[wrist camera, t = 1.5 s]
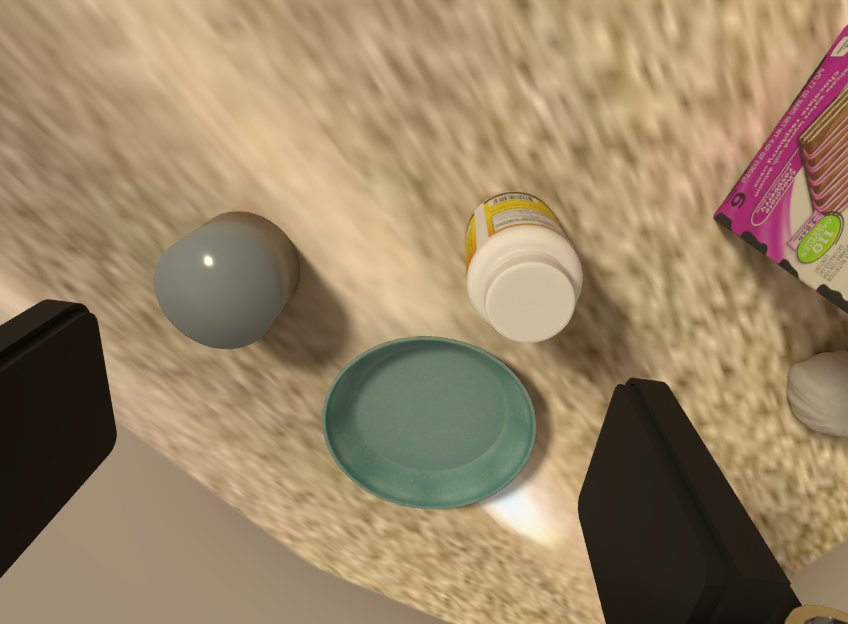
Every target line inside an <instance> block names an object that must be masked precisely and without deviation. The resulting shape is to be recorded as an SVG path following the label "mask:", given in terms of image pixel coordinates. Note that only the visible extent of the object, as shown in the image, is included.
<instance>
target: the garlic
mask: <svg viewBox="0 0 848 624" xmlns="http://www.w3.org/2000/svg"><path fill="white" fill-rule="evenodd" d="M786 392H787V396H788V398H789V400H790V403H791V409H792V412H793V413H794V415H795V416H796V417H797V418H798V419H799V420H800V421H801V422H802V423H803V424H804V425H806V426H807V427H808V428H810V429H812V430H814V431H816V432H819V433H823V434H829V435H833V436H840V437H845V438H848V352H847V351H842V350H839V351H835V352H833V353H832V352H824V353H820V354H817V355H814V356H813V357H811V358H810V359H808V360H806V361H803V362H798V363H796V364H794V365H792V366H791V368H790V370H789V372H788V384H787V389H786Z"/></svg>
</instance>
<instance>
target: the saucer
mask: <svg viewBox="0 0 848 624" xmlns="http://www.w3.org/2000/svg"><path fill="white" fill-rule="evenodd" d="M322 426H323V434H324V438H325V441H326V444H327V446H328V449H329V452H330V453H331V456H332V457H333V459H334V460H335V462H336V463H337V465H338V466H339V468H340V469H341V470H342V471H343V472H344V473H345V474H346V475H347V476H348V477H349V478H350V479H351V480H352V481H353V482H355V483H356V484H357V485H358V486H360V487H362V488H363V489H364V490H366V491H367V492H369V493H371V494H373V495H375V496H377V497H379V498H381V499H383V500H386V501H388V502H392V503H395V504H399V505H402V506H408V507H412V508H421V509H448V508H455V507H461V506H466V505H469V504H472V503H476V502H478V501H481V500H483V499H485V498H488V497H490V496H491V495H493V494H495V493H496V492H498V491H500V490H501V489H503V488H504V487H505V486H506V485H508V484H509V483H510V482H511V481H512V480H513V479H514V478H515V477H516V476H517V475H518V474H519V473H520V471H521V470H522V469H523V467H524V466H525V464H526V463H527V461H528V459H529V457H530V455H531V453H532V450H533V447H534V443H535V438H536V428H537V423H536V415H535V410H534V406H533V403H532V400H531V398H530V396H529V393H528V392H527V390H526V388H525V387H524V385H523V384H522V382H521V381H520V379H519V378H518V377H517V376H516V374H515V373H514V372H513V371H512V370H511V369H510V368H508V367H507V366H506V365H505V364H504V363H503V362H502V361H500V360H499V359H497V358H496V357H494V356H493V355H491V354H489V353H488V352H486V351H484V350H482V349H480V348H478V347H475V346H473V345H470V344H467V343H464V342H461V341H457V340H454V339H448V338H442V337H432V336H418V337H408V338H401V339H396V340H392V341H389V342H385V343H382V344H380V345H377V346H375V347H373V348H371V349H369V350H367V351H365V352H364V353H362V354H360V355H359V356H358V357H356V358H355V359H353V360H352V361H351V362H350V363H349V364H348V365H347V366H346V367H345V368H344V369H343V370H342V371H341V372H340V373H339V374H338V376H337V377H336V379H335V380H334V382H333V383H332V385H331V387H330V389H329V391H328V393H327V396H326V399H325V402H324V406H323V413H322Z"/></svg>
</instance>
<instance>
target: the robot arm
mask: <svg viewBox="0 0 848 624" xmlns="http://www.w3.org/2000/svg"><path fill="white" fill-rule="evenodd" d="M116 436H117V431H116V426H115V419H114V413H113V408H112V402H111V396H110V390H109V384H108V378H107V373H106V367H105V361H104V355H103V349H102V343H101V338H100V332H99V326H98V321H97V318H96V317H95V315H94V314H92V313H89V310H88V309H87V307H86V306H85V305H83V304H81V303H73V302H66V301H58V300H50V299H46V300H44V301H41V302H39V303H38V304H36V305H34V306H33V307H31V308H29V309H28V310H26V311H24V312H22V313H21V314H19V315H17V316H16V317H14V318H12V319H11V320H9V321H7V322H6V323H4V324H2V325H0V578H1V577H2V576H3V575H4V573H5V572H6V571H7V570H8V569H9V568H10V567H11V565H12V564H13V563H14V562H15V561H16V560H17V559H18V558H19V556H20V555H21V554H22V553H23V552H24V551H25V550H26V548H27V547H28V546H29V545H30V544H31V543H32V542H33V541H34V539H35V538H36V537H37V536H38V535H39V534H40V533H41V531H42V530H43V529H44V528H45V527H46V526H47V525H48V523H49V522H50V521H51V520H52V519H53V518H54V517H55V515H56V514H57V513H58V512H59V511H60V510H61V509H62V508H63V506H64V505H65V504H66V503H67V502H68V501H69V500H70V498H71V497H72V496H73V495H74V494H75V493H76V492H77V490H78V489H79V488H80V487H81V486H82V485H83V484H84V482H85V481H86V480H87V479H88V478H89V477H90V476H91V474H92V473H93V472H94V471H95V470H96V469H97V468H98V466H99V465H100V464H101V463H102V462H103V461H104V460H105V459H106V457H107V456H108V455H109V454H110V453H111V451H112V449H113V447H114V445H115V442H116ZM578 514H579V519H580V523H581V527H582V531H583V535H584V539H585V543H586V547H587V551H588V555H589V559H590V563H591V567H592V571H593V575H594V579H595V583H596V587H597V591H598V594H599V598H600V602H601V606H602V610H603V614H604V618H605V622H606V624H848V614H847V613H845V612H843V611H839V610H836V609H833V608H830V607H826V606H822V605H804V606H802V605H801V603H800V602H799V600H798V598H797V597H796V595H795V593H794V592H793V590H792V588H791V587H790V584H791V583H790V581H789V580H788V578H787V576H786V575H785V573H784V572H783V570H782V568H781V567H780V565H779V563H778V562H777V560H776V559H775V557H774V555H773V554H772V552H771V551H770V549H769V547H768V546H767V544H766V543H765V541H764V539H763V538H762V536H761V535H760V533H759V531H758V530H757V528H756V526H755V525H754V523H753V522H752V520H751V518H750V517H749V515H748V514H747V512H746V510H745V509H744V507H743V506H742V504H741V502H740V501H739V499H738V497H737V496H736V494H735V493H734V491H733V489H732V488H731V486H730V485H729V483H728V481H727V480H726V478H725V477H724V475H723V473H722V472H721V470H720V469H719V467H718V465H717V464H716V462H715V460H714V459H713V457H712V456H711V454H710V452H709V451H708V449H707V448H706V446H705V444H704V443H703V441H702V440H701V438H700V436H699V435H698V433H697V431H696V430H695V428H694V427H693V425H692V423H691V422H690V420H689V419H688V417H687V415H686V414H685V412H684V411H683V409H682V407H681V406H680V404H679V403H678V401H677V399H676V398H675V396H674V394H673V393H672V391H671V390H670V388H669V386H668V385H667V384H666V383H665V382H661V381H654V380H646V379H639V378H630V379H629V380H628V381H627V382H626V384H625V385H623V384H619V385H617V386H616V388H615V390H614V392H613V395H612V398H611V401H610V404H609V407H608V410H607V413H606V417H605V420H604V423H603V426H602V429H601V432H600V435H599V438H598V441H597V444H596V447H595V450H594V453H593V456H592V459H591V462H590V465H589V468H588V471H587V474H586V477H585V480H584V483H583V486H582V489H581V492H580V495H579V500H578Z"/></svg>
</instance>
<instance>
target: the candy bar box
mask: <svg viewBox="0 0 848 624" xmlns="http://www.w3.org/2000/svg"><path fill="white" fill-rule="evenodd" d="M713 218H714V219H716V220H717V221H718V222H719V223H721V224H722V225H723V226H725V227H726V228H728V229H729V230H731V231H732V232H733V233H734V234H736V235H737V236H738V237H740V238H741V239H743V240H744V241H746V242H747V243H748V244H750V245H751V246H753V247H754V248H756V249H757V250H759V251H760V252H761V253H763V254H764V255H766V256H767V257H768V258H769V259H771V260H772V261H774V262H775V263H776V264H778V265H779V266H781V267H782V268H784V269H785V270H786V271H788V272H789V273H791V274H792V275H794V276H795V277H797V278H798V279H800V280H801V281H802V282H804V283H805V284H806V285H808V286H809V287H811V288H812V289H814V290H815V291H817V292H818V293H819V294H821V295H822V296H824V297H825V298H826V299H828V300H829V301H831V302H832V303H833V304H835V305H836V306H838V307H839V308H840V309H842V310H843V311H845V312H846V313H848V25H847V26H846V27H845V28H844V29H843V31H842V32H841V34H840V35H839V36H838V38H837V39H836V41H835V42H834V44H833V45H832V47H831V48H830V50H829V51H828V53H827V54H826V55H825V57H824V58H823V60H822V61H821V63H820V64H819V66H818V67H817V68H816V70H815V71H814V73H813V74H812V75H811V77H810V78H809V80H808V81H807V83H806V84H805V86H804V87H803V89H802V90H801V92H800V93H799V95H798V96H797V97H796V99H795V100H794V102H793V103H792V105H791V106H790V108H789V109H788V111H787V112H786V113H785V115H784V116H783V118H782V119H781V120H780V122H779V123H778V125H777V126H776V127H775V129H774V130H773V132H772V133H771V135H770V136H769V138H768V139H767V140H766V142H765V143H764V145H763V146H762V148H761V149H760V150H759V152H758V153H757V155H756V156H755V158H754V159H753V161H752V162H751V163H750V165H749V166H748V168H747V169H746V170H745V172H744V173H743V175H742V176H741V178H740V179H739V181H738V182H737V183H736V185H735V186H734V188H733V189H732V190H731V192H730V193H729V195H728V196H727V198H726V199H725V200H724V202H723V203H722V205H721V206H720V207H719V209H718V210H717V212H716V213H715V214H714V216H713Z"/></svg>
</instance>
